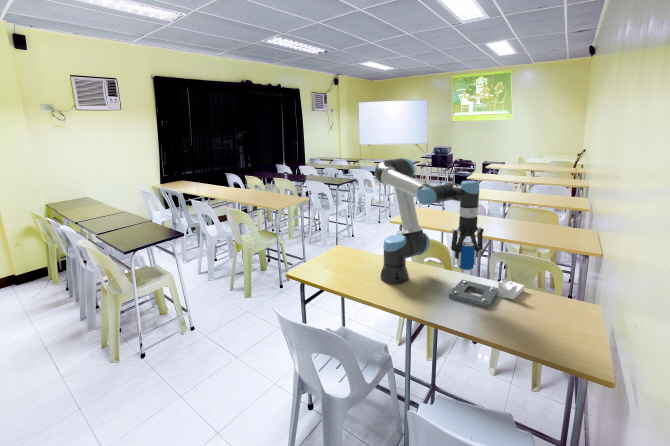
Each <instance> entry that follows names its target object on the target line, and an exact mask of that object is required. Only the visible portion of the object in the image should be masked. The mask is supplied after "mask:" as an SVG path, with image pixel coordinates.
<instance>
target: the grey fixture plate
mask: <svg viewBox="0 0 670 446" xmlns="http://www.w3.org/2000/svg"><path fill="white" fill-rule="evenodd" d="M468 292H474V293H477V294H481V295H480V296H479V295H475V294H472V293H468ZM498 297H499V296H498V287H495V286H490V285H487V284H482V283H478V282H475V281H470V280H467V279H466V280H465V279H461V280H460V281H459V282H458V283H457V284H456V285H455V287H453V288H452V289H451V291H450V292H449V293H448V299H451V300H455V301H457V302H460V303H461V302H462V303H463V304H464V303H465V304H468V305H471V306H474V307H475V306H476V307H479V308H482V309H486V310H490V308H491V306H492V305H493V303H494V302H495V300H496V299H497V298H498Z"/></svg>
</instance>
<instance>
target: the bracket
mask: <svg viewBox="0 0 670 446" xmlns="http://www.w3.org/2000/svg"><path fill="white" fill-rule="evenodd" d="M525 287H526V286H525V285H524V284H523V283H522V284H521V283H518V282H515V281H511V280H509V281H507V282H506V283H504V280H499V282H498V287H497V288H498V296H497V297H499V298H503V299H506V298H507V299H510V300H513V301H514V300H515V299H516V298H517V297H518V296H519V295H521V293H523V291H525Z"/></svg>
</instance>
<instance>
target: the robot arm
mask: <svg viewBox="0 0 670 446" xmlns="http://www.w3.org/2000/svg"><path fill="white" fill-rule="evenodd" d="M415 173H416V169H415V164H414V163H413V162H412V160H410V159H408V158H402V157H400V158H394V159H386V160H382V161H380V162H378V163H377V165H376V166H375V169H374V176H375V178H376V180H377V181H378V182H379V183H381V184H383V185H385V186H388V185H390V186H392V187H393V188H394V191H395V195H396V199H397V205H398V210H399V214H400V215H399V216H400V219H401V224H402V229H403V230H402V232H401V234H392V235H388V236H387V237H386V238H384V241H383V266H382V269H381V272H380V280H381V281H382V282H384V283H386V284H389V285H390V284H391V285H401V284H405V283H407V282H408V281H409V278H410V276H409V272H408V268H407V266H406V264H407V263H406V260H407V259H408V258H412V257H416V256H421V255H423V254H425V253H426V252H428V250H429V248H430V244H431V243H430V241H431V240H430V238H429V236H428V234H427V233H426V232H424V230H423V229H422V228H421V227H420V225H419V221H418V220H419V219H418V216H417V211H416V206H415V201H414V200H415V199H414V197H415V198H417V199H416V200H417V201H418V203H420V205H422V206H423V205H424V206H426V205H433V204H437V203H442V202H443V203H444V202H447V201H456V202H460V203H459V217H458V218H459V221H458V227H457V228H455V229H454V228H453V229H452V230H451V233H452V237H451V238H452V240H451V246H450V249H451V251H453V252H454V258H455V259H456V263H455V264H456V265H457V266H460V265H461V252H459V251H460V249H461V246H462V244H463V242H465V239H466V237H467V238H468V237H470V242H471V243H473V244H474V247H475V248H474V264H473V266H476V265H477V258H478V256H479V252H480V250H481V251H482V250H483V248H484V247H483V241H484V240H483V238H484V237H483V233H484V230H485V229H484V228H482V227H478V220H479V219H478V214H479V199H480V182H479V181H476V180H462V181H461V183H459V184H458V183H452V182H442V183H441V184H440V185H434V186H433V185H430V184H428V183H426V182H423V181H421V180H419V179H416V178H413V177H414V176H415ZM476 232H477V234H475V233H476ZM459 233H460V234H459ZM458 235H459V237H458ZM476 235H477V240H476Z"/></svg>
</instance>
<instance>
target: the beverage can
mask: <svg viewBox="0 0 670 446" xmlns="http://www.w3.org/2000/svg"><path fill="white" fill-rule="evenodd" d="M474 248H475V247H474V244H473V243H472V241H463V244H462V246H461V249H460V251H459V252H461V265H460V266H458V265H457V266H458V268H459V269H461V270H462V271H471V270H472V269H473V268H474V265H473V264H474Z"/></svg>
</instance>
